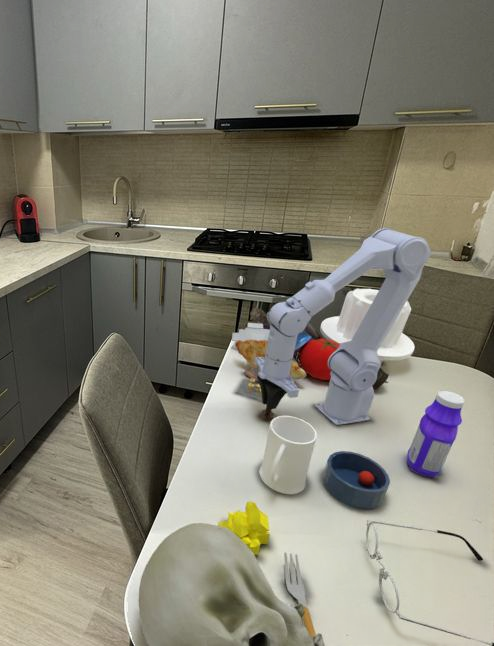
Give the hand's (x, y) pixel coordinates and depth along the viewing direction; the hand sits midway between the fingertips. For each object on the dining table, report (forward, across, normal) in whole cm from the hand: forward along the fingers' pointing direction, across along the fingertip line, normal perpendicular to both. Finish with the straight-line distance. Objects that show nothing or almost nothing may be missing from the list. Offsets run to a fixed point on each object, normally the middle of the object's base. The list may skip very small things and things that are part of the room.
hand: (269, 405), depth 95 cm
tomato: (+3, -14, +26) cm, 29 cm away
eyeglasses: (+3, +42, +2) cm, 42 cm away
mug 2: (0, -36, +14) cm, 38 cm away
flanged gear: (+3, -22, +45) cm, 50 cm away
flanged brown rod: (+3, 0, 0) cm, 3 cm away
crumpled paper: (+3, +28, -22) cm, 36 cm away
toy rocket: (-2, -30, +15) cm, 34 cm away
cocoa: (-2, -10, +31) cm, 33 cm away
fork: (+3, +52, -24) cm, 58 cm away
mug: (+4, +18, -9) cm, 21 cm away
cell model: (-6, -22, +17) cm, 29 cm away
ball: (+2, +23, +7) cm, 24 cm away
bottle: (+4, +22, +22) cm, 31 cm away
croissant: (-4, -16, +9) cm, 19 cm away
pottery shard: (0, -18, +9) cm, 20 cm away
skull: (-3, +40, -23) cm, 46 cm away
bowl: (+3, +23, +4) cm, 24 cm away
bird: (-3, -25, +23) cm, 34 cm away
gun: (-8, -27, +26) cm, 38 cm away
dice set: (+3, -11, +3) cm, 12 cm away
